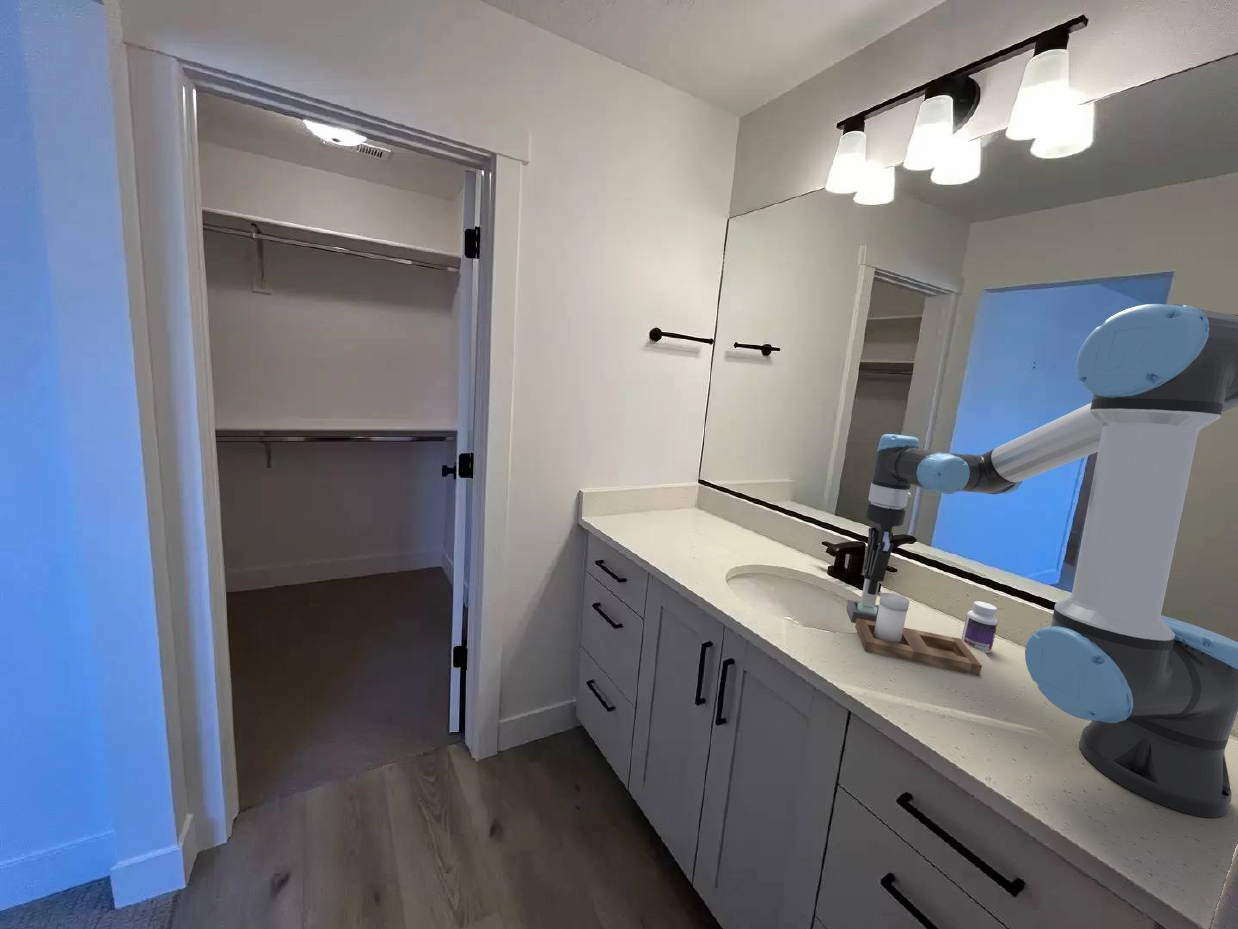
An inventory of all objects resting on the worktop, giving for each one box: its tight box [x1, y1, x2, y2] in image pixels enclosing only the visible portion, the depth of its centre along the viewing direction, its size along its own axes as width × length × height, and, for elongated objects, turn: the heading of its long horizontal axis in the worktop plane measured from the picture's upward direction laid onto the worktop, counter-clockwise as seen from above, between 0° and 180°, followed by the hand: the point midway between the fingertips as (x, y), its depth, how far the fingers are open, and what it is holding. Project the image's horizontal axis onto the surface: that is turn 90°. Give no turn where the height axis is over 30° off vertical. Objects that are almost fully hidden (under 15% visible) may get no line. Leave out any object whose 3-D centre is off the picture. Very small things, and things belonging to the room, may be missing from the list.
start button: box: [857, 603, 877, 614], centre depth 115 cm, size 4×4×3 cm
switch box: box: [845, 599, 879, 624], centre depth 115 cm, size 7×7×4 cm
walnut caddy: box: [855, 618, 983, 676], centre depth 102 cm, size 20×11×3 cm, turn 74°
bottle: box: [873, 592, 910, 644], centre depth 103 cm, size 5×5×10 cm
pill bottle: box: [961, 600, 999, 654], centre depth 108 cm, size 5×5×10 cm
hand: (867, 605), depth 114 cm, fingers closed
